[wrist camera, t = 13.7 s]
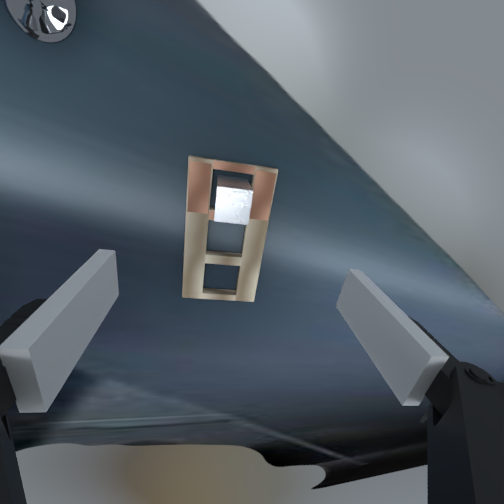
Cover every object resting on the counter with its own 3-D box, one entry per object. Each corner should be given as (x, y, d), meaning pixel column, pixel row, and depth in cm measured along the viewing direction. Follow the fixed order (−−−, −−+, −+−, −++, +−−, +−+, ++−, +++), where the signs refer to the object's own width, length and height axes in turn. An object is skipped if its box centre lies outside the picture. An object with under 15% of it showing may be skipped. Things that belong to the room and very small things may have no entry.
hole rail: (183, 292, 43) (181, 298, 42) (189, 155, 34) (188, 156, 33) (252, 296, 45) (253, 302, 43) (276, 168, 36) (278, 169, 35)
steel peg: (215, 201, 37) (213, 221, 29) (218, 173, 36) (217, 186, 28) (242, 205, 38) (248, 224, 30) (246, 177, 36) (253, 191, 28)
